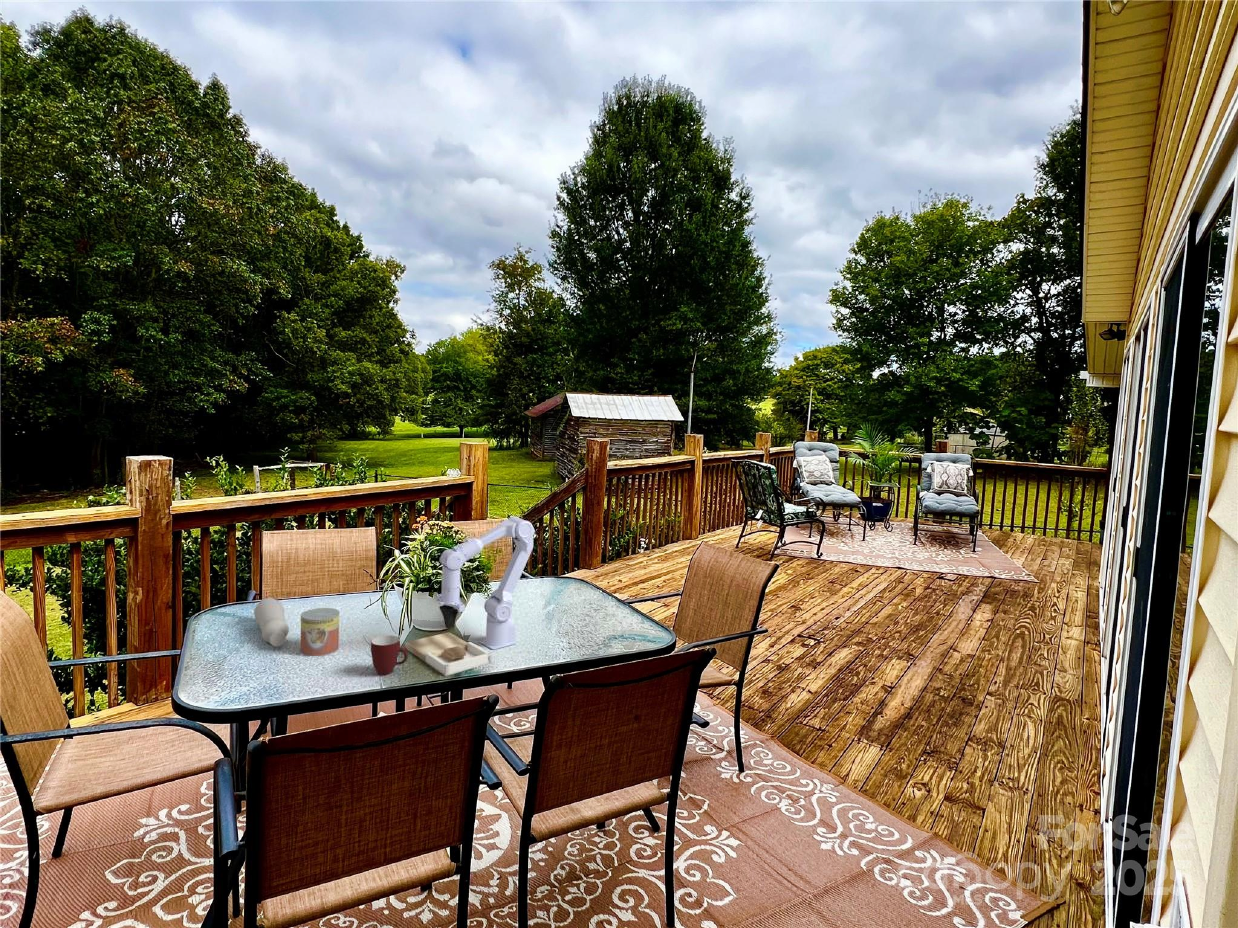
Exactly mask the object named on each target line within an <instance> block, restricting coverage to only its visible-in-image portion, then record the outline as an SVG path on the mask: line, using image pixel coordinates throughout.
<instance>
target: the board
mask: <svg viewBox="0 0 1238 928" xmlns="http://www.w3.org/2000/svg"><path fill="white" fill-rule="evenodd" d="M404 643H405V644H404V649H405V650H406V651H409V652H410V653H411V654H413V655H415V656H416V657H417V658H418V659H420V660H421V661H423V662H425V663H426V653H428V652H430V653H431V654H433V655H435V656H436V657H438V658H439V657H442V653H444V649H448V648H452V647H456V646H459V647H461V648H462V649H464V650H467V643H468V642H466V641H465V640H463V639H461V638H460V637H458V636H456V635H455V634H453V633H451V632H450V631H448V632H444V633H441V634H436V635H431V636H427V637H422V638H418V639H413V640H410V641H406V642H404Z"/></svg>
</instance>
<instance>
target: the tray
mask: <svg viewBox="0 0 1238 928" xmlns="http://www.w3.org/2000/svg"><path fill="white" fill-rule="evenodd" d="M425 663H426V664H428V665H429V666H430V667H432V668H433V669H435V670H436V671H437V672H439V673H441V674H442V675H443V676H445V677H447V676H451V675H455V674H457V673H460V672H465V671H467V670H472V669H475V668H479V667H482V666H486V665H489V664H492V653H491V652H489V651H487V650H485V649H484V648H482V647H480V646H479V645H477V644H475V643H473V641H472V642H471V641H469V642H467V650H466V656H464V659H461V660H457V661H454V662H448V661H447V660H445V659H444V658H442V657H439V658H438V657H436V656H435V655H433V654H431V653H430V652H428V653H426V662H425Z"/></svg>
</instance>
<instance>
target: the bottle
mask: <svg viewBox="0 0 1238 928" xmlns="http://www.w3.org/2000/svg"><path fill="white" fill-rule="evenodd" d="M253 615H254V618H255V621H256V623H257V624H258V626H259V629H260V630H261V638H262V639H263V640H264V641H265V642H267V643H269V644H270V645H272V646H273V647H280V646H282V645H284V644H285V642H286V640H287V636H288V634H289V631H290V627H289V625H288V623H287V619H286V615H285V609H284V606H283V604H282V602H281V601H279V600H278V599H275V598H273V597H267V598H266V597H265V598H263V599H261V600H260V601H259V602H258V604H257V605H256V606H255V608H254V609H253Z"/></svg>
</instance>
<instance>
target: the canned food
mask: <svg viewBox="0 0 1238 928" xmlns="http://www.w3.org/2000/svg"><path fill="white" fill-rule="evenodd" d="M339 631H340V610H339V609H335V608H332V607H330V608H329V607H319V608H313V609H308V610H305V611H304V612H302V613H301V614H300V649H299V651H300V652H301V653H302V654H303V656H305V655H306V656H305V657H310V656H318V657H324V656H330V655H332V654H334V653H336V652H337V651H339V648H340V646H339V644H340V643H339V642H340V641H339V638H340V636H339V635H340V632H339ZM300 652H299V653H300ZM301 653H300V654H301ZM331 653H332V654H331ZM302 654H301V655H302Z"/></svg>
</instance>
